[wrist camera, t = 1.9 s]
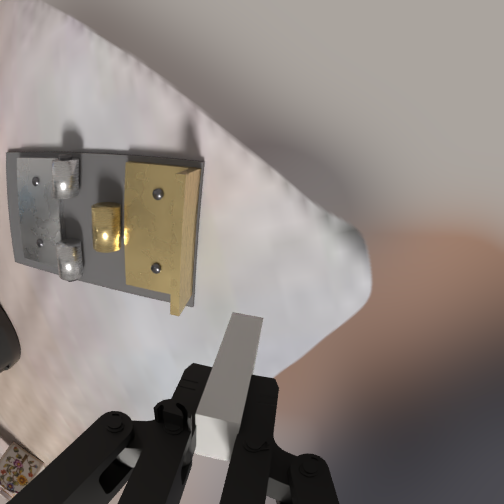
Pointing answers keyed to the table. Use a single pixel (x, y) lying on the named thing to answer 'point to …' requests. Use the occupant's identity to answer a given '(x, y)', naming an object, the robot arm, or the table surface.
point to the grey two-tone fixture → (80, 216)
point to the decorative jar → (17, 470)
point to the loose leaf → (154, 228)
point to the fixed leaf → (48, 212)
